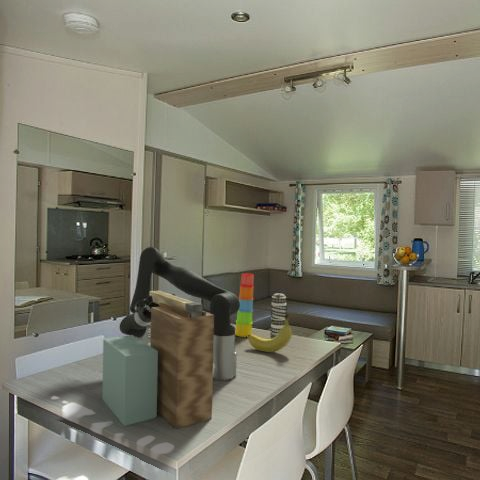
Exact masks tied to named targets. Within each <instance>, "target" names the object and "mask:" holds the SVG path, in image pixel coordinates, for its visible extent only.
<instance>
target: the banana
mask: <svg viewBox="0 0 480 480" xmlns="http://www.w3.org/2000/svg"><path fill="white" fill-rule="evenodd" d="M286 313H287V314H285V315H286V316H285V317H284V318H285V324H284V326H283V328H282V329H281V331H280V332H279V334H278V335H277V336H276V337H274V338H272V339H271V338H268V339H267V338H263V337H260V336H259V335H255V334H253V333H252V334H249V335H248V337H247V339H248V343H249V344H250V346H252V348H254V350H255V349H256V350H257V351H259V350H260V352H262V351H266V352H265V353H274V352H279V351H280V350H281V349H283V348H285V347H286V346H287V345H288V344H289V343H290V341H291V339H292V337H293V336H292V335H293V334H292V333H293V332H292V328H291V327H290V324H289V319H290V317H291V314H290V313H288V312H286Z"/></svg>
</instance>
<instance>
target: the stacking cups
mask: <svg viewBox="0 0 480 480" xmlns="http://www.w3.org/2000/svg"><path fill="white" fill-rule="evenodd" d="M254 277H255V276H254V273H241V279H240V285H239V296H237V298H238V299H239V302H240V308H239V310H238V311H237V312H236V313H237V314H236V320H235V323H236V324H235V337H236V336H237V337H240V338H247V337H246V336H248V335H249V334H251V333H252V327H253V324H254V323H253V312H254V309H253V307H254V305H253V304H254V288H255V286H254Z"/></svg>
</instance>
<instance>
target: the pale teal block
mask: <svg viewBox="0 0 480 480" xmlns="http://www.w3.org/2000/svg"><path fill="white" fill-rule="evenodd" d="M102 342H103V343H102V344H103V345H102V348H103V350H102V387H101V389H102V393H101V394H102V395H101V396H102V397H101V398H102V399H101V400H102V401H103V403H105V405H106V406H107V407H108V409H110V411H111V412H112V413H113V414H114V415H115V416H116V418H117V419H118V420H119V421H120V423H121V424H122V425H123V426H124V427H126V426H131V425H134V424H137V423H138V424H139V423H142V422H145V421H149V420H152V419H156V418H157V414H158V413H157V412H158V411H157V370H158V351H157V350H155V349H154V348H152V347H151V345H147V344H146V343H144V342H143V341H141V340H139V339H138V338H137V337H135V336H133V335H122V336H114V337H107V338H103V341H102Z"/></svg>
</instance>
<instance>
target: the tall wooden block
mask: <svg viewBox="0 0 480 480" xmlns="http://www.w3.org/2000/svg"><path fill="white" fill-rule="evenodd" d="M150 326H151V345H150V346H151V347H152V348H154V349H155V350H157V351H158V370H157V412H158V413H159V414H160V415H161V416H162V417H163V418H164V419H165V420H166V421H168V422H169V424H170V425H172V426H173V428H175V429H176V430H177V429H179V428H184V427H186V426H187V427H188V426H192V425H193V424H194V425H195V424H197V423H201V422H204V420H205V421H208V420H211V419H212V418H213V417H212V416H213V415H212V414H213V380H214V379H213V341H214V315H213V314H210V312H207V311H206V310H205V311H204V310H202V316H200V317H190V313H187V312H184V311H182V310H179V309H177V308H174V307H171V306H169V305H166V304H163V303H159V307H151V325H150ZM207 419H208V420H207Z"/></svg>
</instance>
